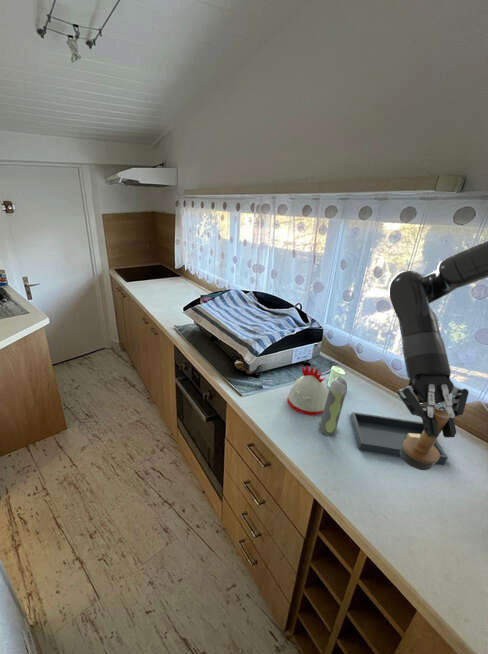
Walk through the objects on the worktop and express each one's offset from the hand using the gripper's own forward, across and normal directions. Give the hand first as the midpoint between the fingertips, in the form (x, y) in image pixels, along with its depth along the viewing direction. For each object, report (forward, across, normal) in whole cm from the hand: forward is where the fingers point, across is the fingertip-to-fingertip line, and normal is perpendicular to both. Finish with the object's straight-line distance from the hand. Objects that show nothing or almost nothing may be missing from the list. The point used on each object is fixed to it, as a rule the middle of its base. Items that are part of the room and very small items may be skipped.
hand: (441, 436), depth 63 cm
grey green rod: (-2, -9, +36) cm, 37 cm away
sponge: (-33, -28, +66) cm, 79 cm away
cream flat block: (0, +16, +33) cm, 36 cm away
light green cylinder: (-20, +3, +54) cm, 58 cm away
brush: (+5, 0, +9) cm, 10 cm away
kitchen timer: (-12, -11, +46) cm, 49 cm away
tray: (0, +10, +34) cm, 35 cm away
